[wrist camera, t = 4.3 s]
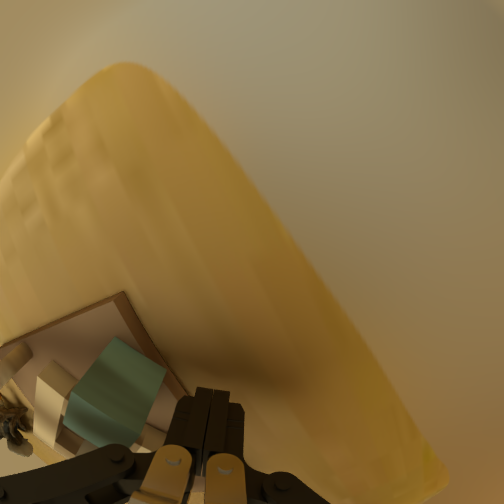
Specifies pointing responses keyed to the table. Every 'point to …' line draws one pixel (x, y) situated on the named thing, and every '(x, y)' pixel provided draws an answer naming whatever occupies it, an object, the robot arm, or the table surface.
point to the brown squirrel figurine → (14, 430)
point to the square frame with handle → (100, 403)
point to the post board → (96, 356)
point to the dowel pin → (14, 362)
